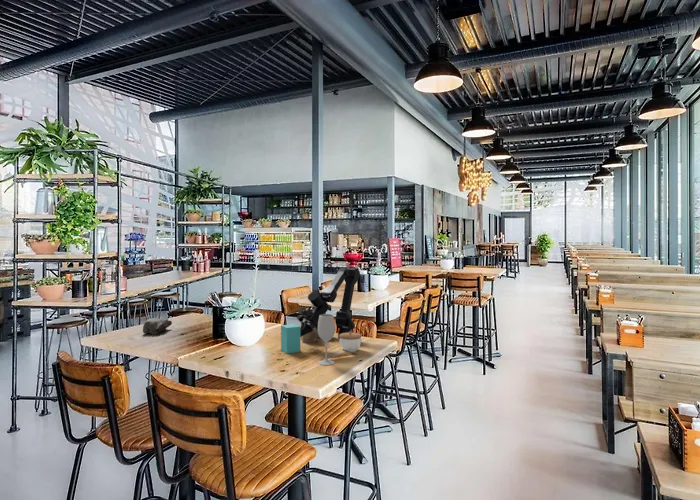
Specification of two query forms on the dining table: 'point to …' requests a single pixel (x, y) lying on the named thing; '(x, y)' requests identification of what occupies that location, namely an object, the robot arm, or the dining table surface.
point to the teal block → (290, 338)
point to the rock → (156, 325)
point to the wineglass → (326, 333)
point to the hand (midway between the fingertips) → (298, 336)
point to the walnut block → (309, 336)
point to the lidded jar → (350, 341)
